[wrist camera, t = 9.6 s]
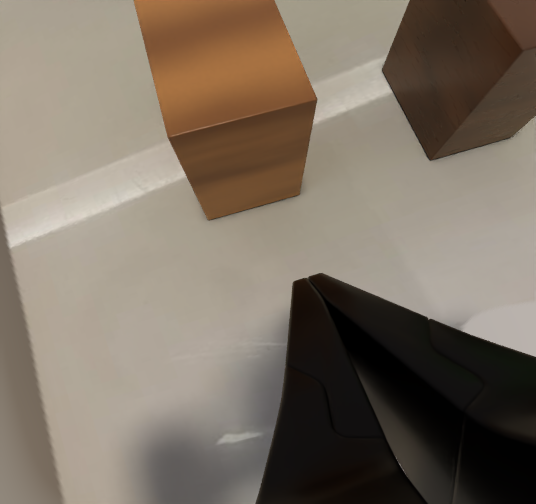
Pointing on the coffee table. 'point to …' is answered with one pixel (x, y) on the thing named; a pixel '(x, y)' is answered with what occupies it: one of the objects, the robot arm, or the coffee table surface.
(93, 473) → the coffee table surface
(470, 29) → the walnut block
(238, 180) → the oak block
